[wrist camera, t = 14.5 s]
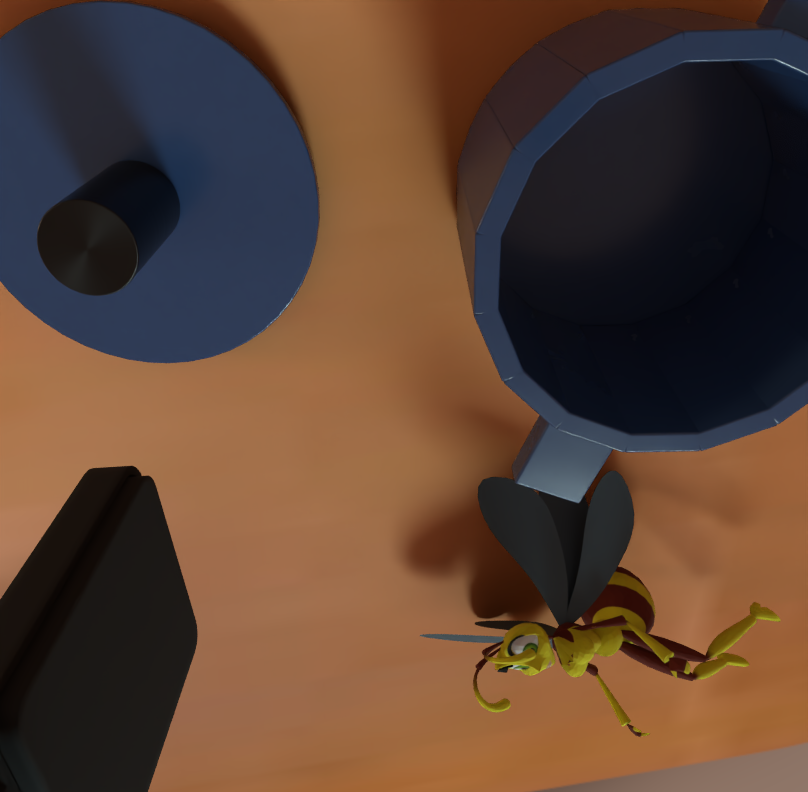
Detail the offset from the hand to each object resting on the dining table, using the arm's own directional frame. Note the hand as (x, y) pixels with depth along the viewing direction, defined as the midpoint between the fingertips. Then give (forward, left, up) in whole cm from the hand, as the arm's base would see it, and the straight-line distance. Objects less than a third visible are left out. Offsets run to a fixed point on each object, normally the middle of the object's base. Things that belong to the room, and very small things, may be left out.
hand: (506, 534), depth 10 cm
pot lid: (-4, -10, -20) cm, 23 cm away
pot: (+3, +6, -20) cm, 21 cm away
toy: (+20, 0, -21) cm, 29 cm away
